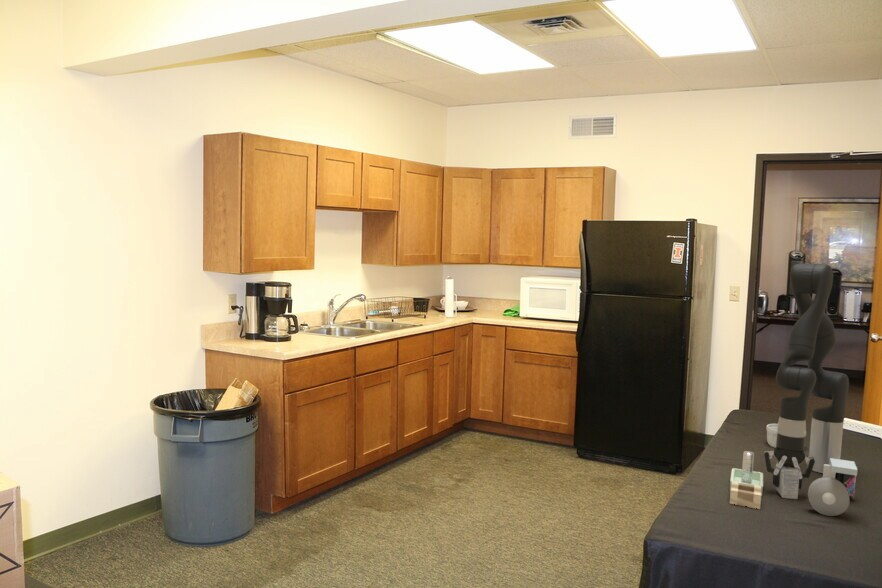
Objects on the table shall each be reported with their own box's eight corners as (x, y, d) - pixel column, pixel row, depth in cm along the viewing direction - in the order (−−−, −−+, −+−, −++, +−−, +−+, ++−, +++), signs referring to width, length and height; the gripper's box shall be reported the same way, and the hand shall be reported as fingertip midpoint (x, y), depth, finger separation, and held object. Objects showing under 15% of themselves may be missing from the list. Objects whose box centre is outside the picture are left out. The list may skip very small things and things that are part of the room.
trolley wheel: (805, 504, 205) (810, 455, 204) (849, 511, 201) (854, 461, 199) (807, 513, 198) (811, 462, 196) (852, 522, 193) (857, 469, 192)
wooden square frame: (730, 494, 210) (731, 481, 210) (760, 499, 207) (761, 486, 207) (729, 503, 203) (730, 490, 203) (760, 509, 200) (761, 495, 200)
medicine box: (797, 500, 208) (800, 471, 207) (781, 498, 209) (784, 469, 208) (790, 490, 216) (792, 462, 215) (774, 488, 217) (776, 461, 216)
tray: (731, 477, 226) (732, 467, 226) (762, 482, 222) (763, 472, 222) (729, 491, 213) (730, 481, 213) (762, 496, 210) (763, 486, 209)
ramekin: (806, 446, 264) (808, 427, 263) (802, 454, 253) (804, 435, 252) (767, 439, 271) (769, 421, 270) (762, 447, 260) (763, 428, 259)
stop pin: (741, 482, 220) (743, 450, 219) (751, 483, 219) (754, 452, 218) (740, 485, 217) (743, 453, 216) (751, 486, 216) (754, 454, 215)
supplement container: (831, 499, 210) (834, 465, 209) (825, 491, 216) (828, 458, 215) (856, 503, 208) (860, 468, 207) (850, 495, 214) (853, 461, 213)
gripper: (817, 433, 211) (812, 488, 213) (764, 426, 217) (760, 480, 219) (819, 439, 204) (814, 496, 206) (764, 432, 210) (760, 487, 212)
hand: (786, 487), depth 212 cm, fingers closed on medicine box, 5 cm apart
